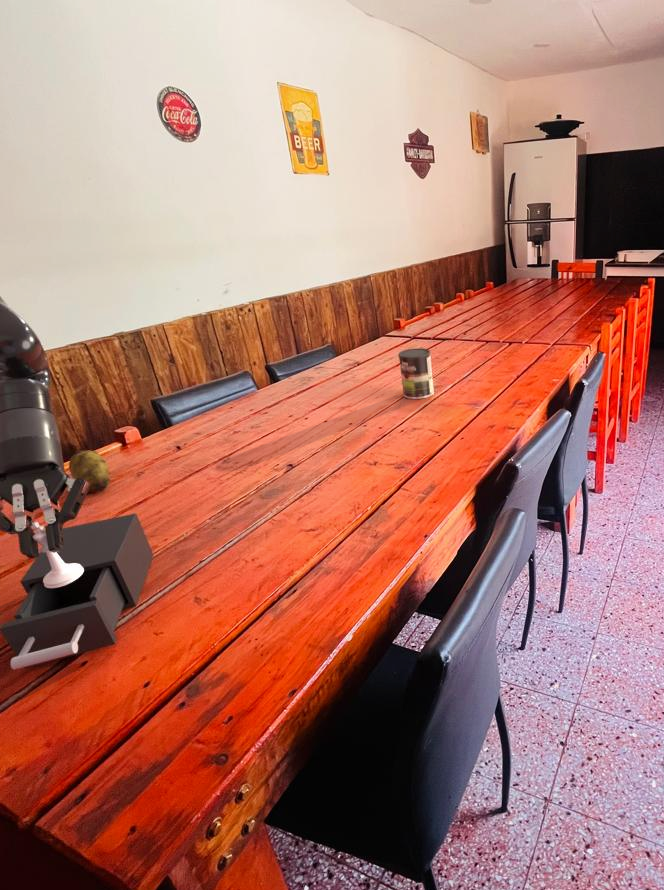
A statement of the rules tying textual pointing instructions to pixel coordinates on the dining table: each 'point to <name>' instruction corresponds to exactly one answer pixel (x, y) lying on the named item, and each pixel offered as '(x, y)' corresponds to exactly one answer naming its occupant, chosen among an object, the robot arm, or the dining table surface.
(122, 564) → the small drawer cabinet
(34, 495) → the robot arm
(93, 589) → the dark grey drawer
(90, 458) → the potato
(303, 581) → the dining table surface
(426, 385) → the coffee can
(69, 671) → the dining table surface
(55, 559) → the chess piece
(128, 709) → the dining table surface
